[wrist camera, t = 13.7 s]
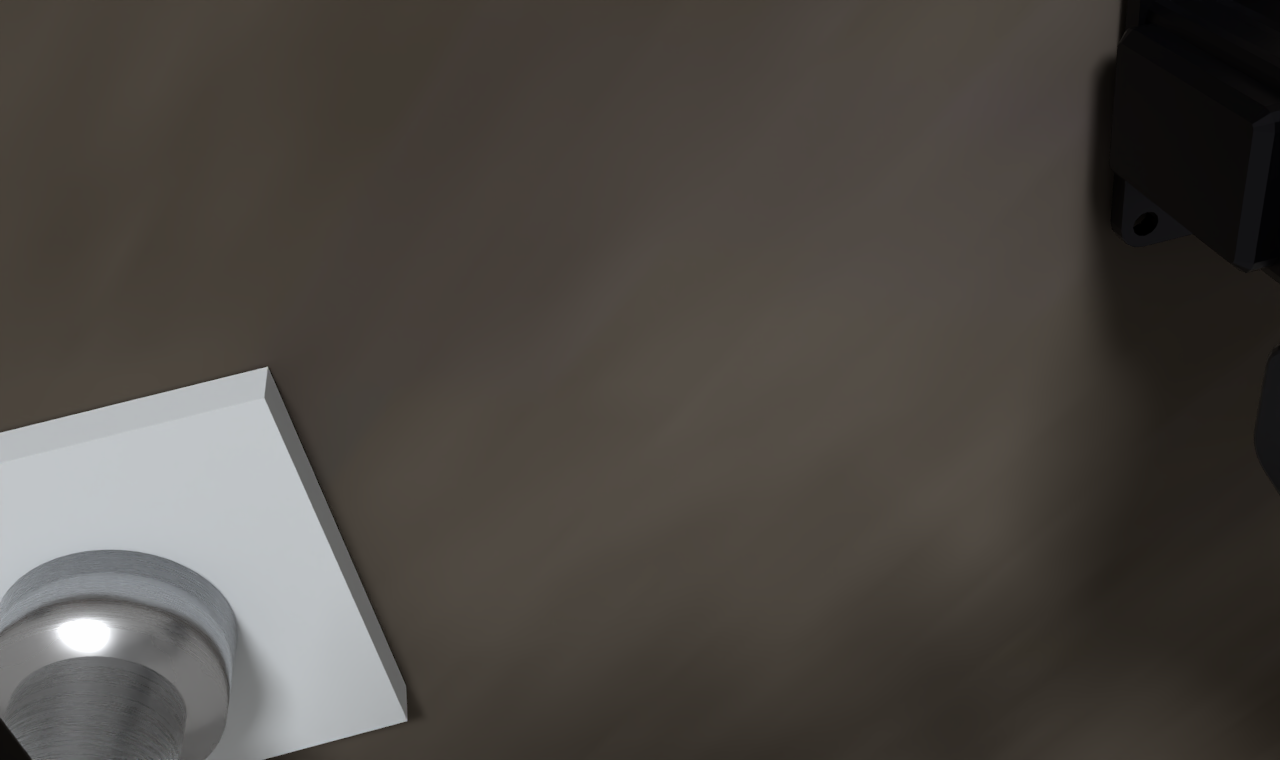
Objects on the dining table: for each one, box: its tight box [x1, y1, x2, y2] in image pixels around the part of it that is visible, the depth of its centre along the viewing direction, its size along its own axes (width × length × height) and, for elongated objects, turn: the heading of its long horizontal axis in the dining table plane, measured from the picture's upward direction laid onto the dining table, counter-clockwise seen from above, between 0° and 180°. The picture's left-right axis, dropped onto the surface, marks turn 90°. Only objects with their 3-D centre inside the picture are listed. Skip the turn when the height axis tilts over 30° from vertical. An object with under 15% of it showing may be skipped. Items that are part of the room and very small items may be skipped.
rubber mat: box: [0, 367, 408, 760], centre depth 23 cm, size 9×9×1 cm
